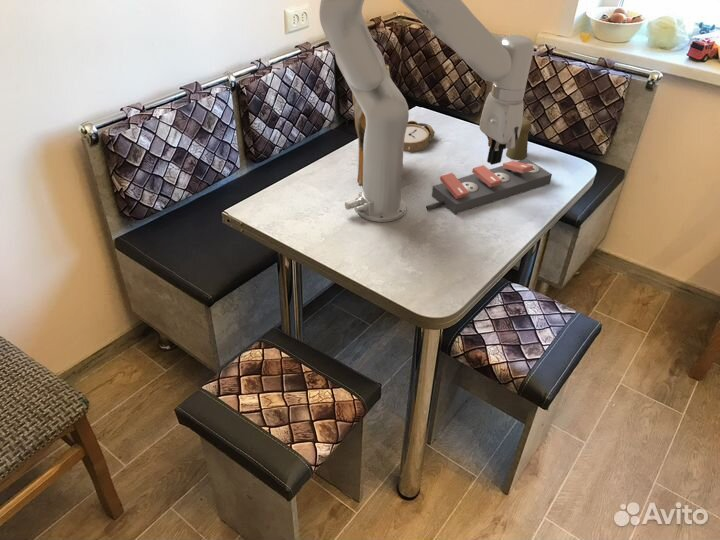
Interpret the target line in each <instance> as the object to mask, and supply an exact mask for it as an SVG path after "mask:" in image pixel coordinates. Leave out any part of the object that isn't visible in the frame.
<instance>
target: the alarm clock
mask: <svg viewBox="0 0 720 540" xmlns="http://www.w3.org/2000/svg"><path fill="white" fill-rule="evenodd" d="M435 133H436V131H435V130H434V128H433V126H431V125H430V124H428V123H423V122H420V123H419V122H417V121H415V120H408V123H407V128H406V132H405V139H404V150H403V152H410V153H411V152H412V153H413V152H420V151H422V150H424V149H426V148H427V147H428V146H429V142H431V141H432V140H433V139H434V138H435Z"/></svg>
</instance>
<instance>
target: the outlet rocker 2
mask: <svg viewBox="0 0 720 540" xmlns="http://www.w3.org/2000/svg"><path fill="white" fill-rule="evenodd" d="M471 173H473V174H475V175H476V176H477V177H478V178H479V180H480V182H484V183H485V184H487V185H488V186H489V187H493V186H496V185H499V184H501V182H502V180H501V179H500V178H499V177H498V176H496V175H495V174H494V173H493V172H491V171H490V169H489V168H488V167H487V166H485V165H484V164H482V165H478V166H476V167H472V170H471Z"/></svg>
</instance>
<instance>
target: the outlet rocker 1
mask: <svg viewBox="0 0 720 540" xmlns="http://www.w3.org/2000/svg"><path fill="white" fill-rule="evenodd" d="M458 179H459V178H458V177H457V176H456V175H455V174H454V173H453V172H450V173H447V174H444V175H443V174H442V175H440V178H439V180H440V182H441V184H442V183H443V184H444V185H445V186H446V188H447V191H448V192H451V194H452V195H453V196H454V197H455V198H456V199H459V198H462V197H465V196H468V194H469V192H468V191H467V189H466V188H465V187H464V186H463V185H462V183H461V182H460V181H459V180H458Z"/></svg>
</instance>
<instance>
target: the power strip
mask: <svg viewBox="0 0 720 540" xmlns="http://www.w3.org/2000/svg"><path fill="white" fill-rule="evenodd" d="M516 161H517V162H520V163H524V164H528V165H532V166H533V170H532V171H528V172H525V173H520V172H517V173H512V172H511V170H509V169H505V168H503V165H500V166H498V167H492V168H490V169H489V170H490V171H491V172H493V173H494V174H495V175H496V176H498V177H499V178H500V179H501V180H502V182H501V184H499V185H496V186H493V187H489V186H488V185H487V184H485V183H484V182H480V180H479V178H478V177H477V176H476V175H475V174H474V173H473V174H470V175H467V176H462V177H459V178H457V179H458V180H459V181H460V182H461V183H462V185H463V186H464V187H465V188H466V189H467V191H468V192H469V194H468V196H465V197H462V198H459V199H456V198H455V197H454V196H453V195H452V194H451V192H448V191H447V188H446V186H445V185H444V184H443V183H442V182H441V183H439V184H436V185H432V189H431V190H432V192H431V197H432V198H433V199H435V200H436V201H437V202H435V203H431V204H427V205H426V206H425V210H426V211H430V210H433V209H437V208H439V207H440V208H441V207H445V208H446V209H447V210H448V211H450V212H451V213H452V214H454V215H457V214H460V213H464V212H467V211H469V210H472V209H473V210H474V209H477V208H480V207H482V206H483V207H484V206H485V205H488V204H491V203H494V202H497V201H500V200H501V201H502V200H505V199H509V198H510V197H513V196H517V195H519V194H522V193H526V192H529V191H532V190H534V189H538V188H542V187H544V186H547V185H548V186H549V185H550V184H551V179H552V175H553V174H552V173H551V172H550V171H548V170H546V169H544V168H543V167H541V166H539V165H538V164H537V163H535V162H533V161H532V160H530V159H528V158H526V159H524V160H516Z"/></svg>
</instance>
